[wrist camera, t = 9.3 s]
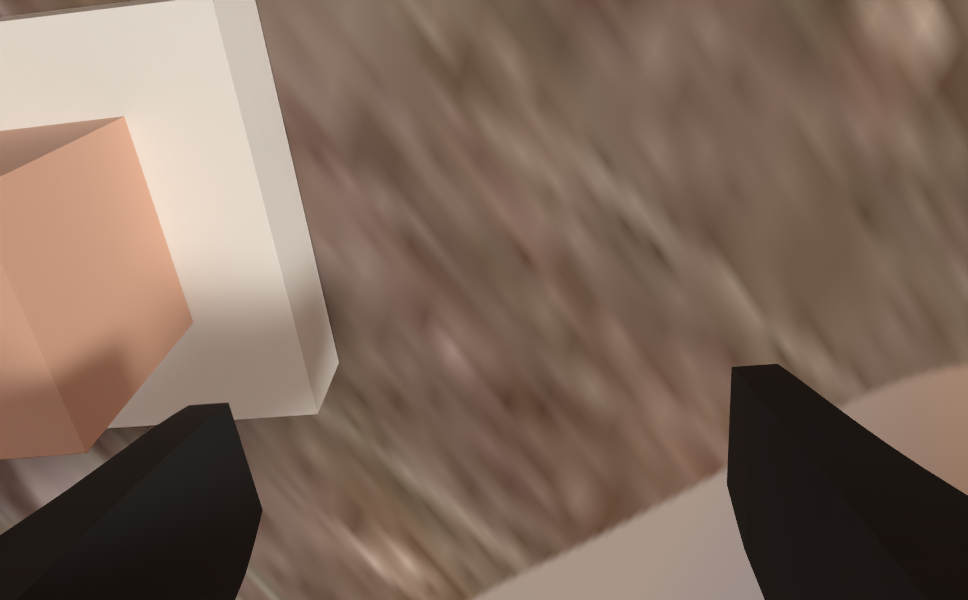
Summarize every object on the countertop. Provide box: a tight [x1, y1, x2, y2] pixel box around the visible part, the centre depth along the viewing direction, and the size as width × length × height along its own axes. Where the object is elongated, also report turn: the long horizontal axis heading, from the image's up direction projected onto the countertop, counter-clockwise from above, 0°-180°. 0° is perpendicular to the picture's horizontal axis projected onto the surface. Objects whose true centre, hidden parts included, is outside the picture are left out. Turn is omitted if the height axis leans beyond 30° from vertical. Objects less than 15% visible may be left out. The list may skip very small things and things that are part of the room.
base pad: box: [0, 0, 339, 428], centre depth 19 cm, size 10×10×2 cm
